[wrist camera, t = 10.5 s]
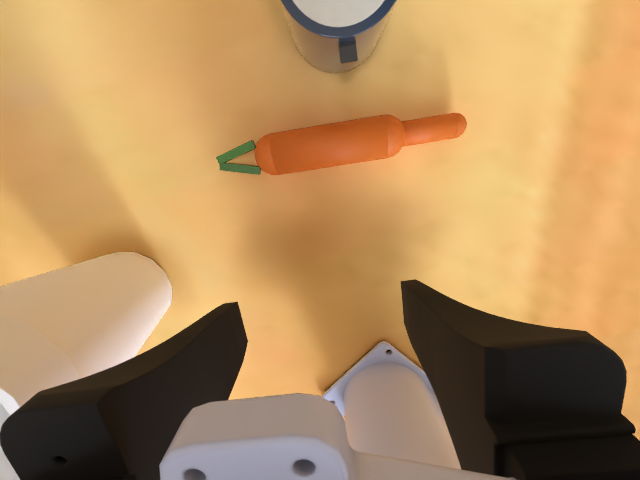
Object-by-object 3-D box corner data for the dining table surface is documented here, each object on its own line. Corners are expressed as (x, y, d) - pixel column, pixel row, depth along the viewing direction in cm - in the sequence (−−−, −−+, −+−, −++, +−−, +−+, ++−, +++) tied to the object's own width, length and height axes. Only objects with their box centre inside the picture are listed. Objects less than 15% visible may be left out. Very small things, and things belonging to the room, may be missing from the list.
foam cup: (146, 211, 22) (-88, 294, 10) (214, 311, 24) (95, 481, 12) (49, 264, 24) (-259, 394, 11) (122, 353, 26) (-67, 542, 14)
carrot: (230, 181, 21) (218, 185, 19) (221, 143, 21) (207, 142, 18) (459, 145, 20) (477, 145, 18) (458, 103, 19) (477, 97, 17)
